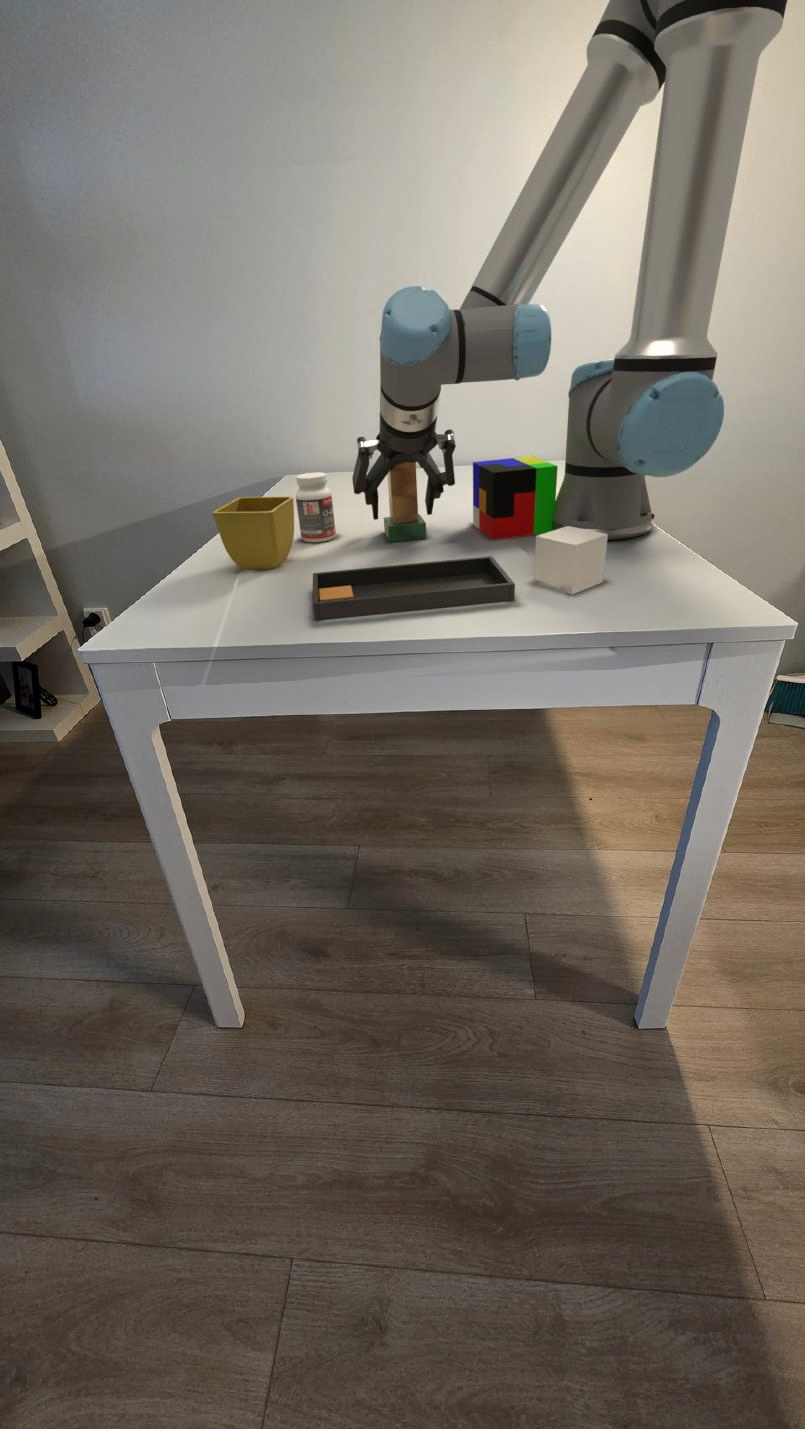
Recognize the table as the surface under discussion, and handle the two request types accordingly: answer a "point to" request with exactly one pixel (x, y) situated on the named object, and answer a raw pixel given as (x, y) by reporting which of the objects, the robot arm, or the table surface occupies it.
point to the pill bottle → (315, 508)
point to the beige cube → (570, 558)
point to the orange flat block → (335, 593)
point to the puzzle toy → (514, 496)
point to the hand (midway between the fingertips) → (401, 509)
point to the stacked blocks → (403, 505)
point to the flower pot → (257, 530)
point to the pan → (413, 587)
